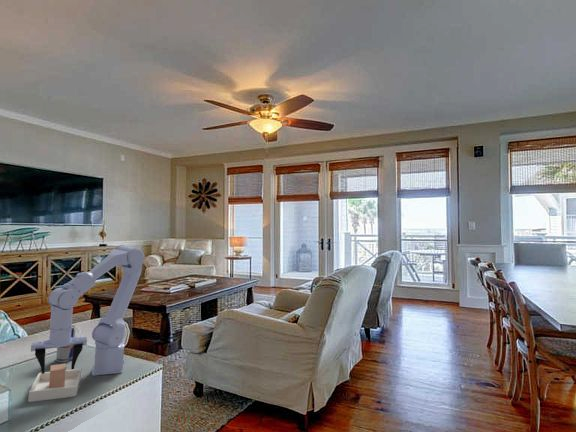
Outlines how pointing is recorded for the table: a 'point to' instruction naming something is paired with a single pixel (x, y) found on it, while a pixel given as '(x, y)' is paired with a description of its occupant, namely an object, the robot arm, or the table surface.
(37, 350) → the robot arm
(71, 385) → the tray
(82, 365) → the table surface
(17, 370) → the table surface
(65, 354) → the energy drink
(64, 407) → the table surface
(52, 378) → the block
